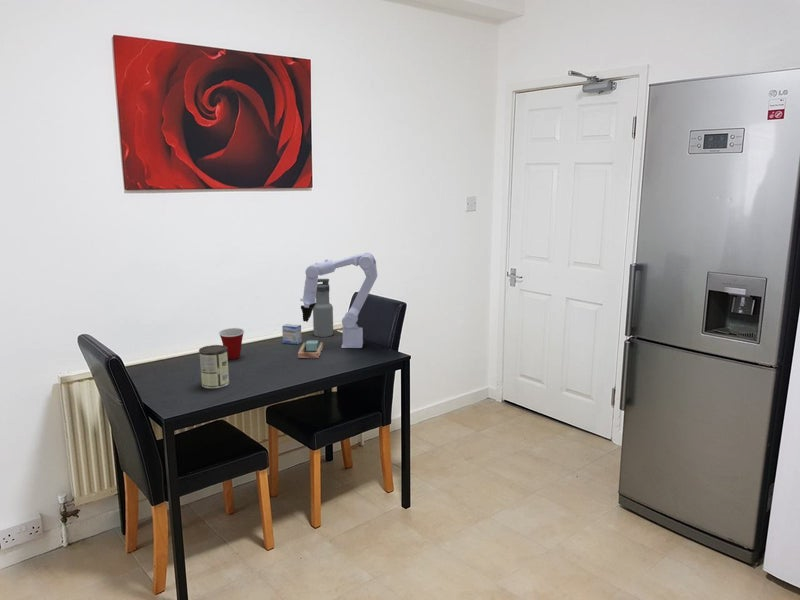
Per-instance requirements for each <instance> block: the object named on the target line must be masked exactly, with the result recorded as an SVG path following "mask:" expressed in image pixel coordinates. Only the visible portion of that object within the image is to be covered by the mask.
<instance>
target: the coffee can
mask: <svg viewBox="0 0 800 600" xmlns="http://www.w3.org/2000/svg"><path fill="white" fill-rule="evenodd" d="M198 352H199V362H200V365H199V367H200V376H201V386H202V387H203V388H205V389H220V388H224V387H226V386H228V385H230V375H229V374H230V373H229V359H228V355H227V347H226V346H223V344H213V345H206V346H203V347H201V348H199V349H198Z"/></svg>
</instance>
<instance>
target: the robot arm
mask: <svg viewBox="0 0 800 600" xmlns="http://www.w3.org/2000/svg"><path fill="white" fill-rule="evenodd" d="M351 265H353V266H356V267H358V266H359V267H360V269H361V270H362V271H363V272H364V276H365V278H364V281H363V283H362V285H361V287H360V289H359V290H358V292H357V295H356V297H355V299H354V300H353V302H352V305H351V307H350V308H349V310H348V311H347V312H346V313H345V314H344V316H343V318H342V319H341V323H342V344H341V347H340V348H341V349H361V348H363V344H364V339H363V334H364V333H363V327H360V326H359V325H358V324H357V322H358V320H359V315H360V312H361V309H362V307H363V306H364V304H365V301H366V300H367V298H368V296H369V294H370V292H371V291H372V288H373V286H374V284H375V282H376V281H377V278H378V270H377V261H376V259H375V257H374V255H373V254H372V253H370V252H365V253H363V254H362V253H359V254H354V255H351V256H348V257H344V258H342V259H339V260H336V261H335V260H334V261H333V260H332V259H324V261H322V262H315V263H314V264H310V265H309V266H307V268H306V269H305V281H304V287H303V288H304V289H303V297H302V298H299V300H300V301H301V302H302V303H303V305H300V309H301V313H302V321H303V322H307V323H308V322H309V320H310V318H311V316H312V314H313V308H314V306H315V304H316V292H317V284H319V282H318V279H319V276H325V275H328V274H332V273H334V272H335V271H336V269H339V268H343V267H347V266H351Z"/></svg>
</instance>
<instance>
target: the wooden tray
mask: <svg viewBox="0 0 800 600" xmlns="http://www.w3.org/2000/svg"><path fill="white" fill-rule="evenodd" d="M306 342H307V341H302V344H301V346H300V348H299V350H298V352H297V359H298V358H308V360H309V358H311V359H312V358H313V359H314V358H320V357H321V354H322V352H321V351H323V348H324V341H320V343H318V349H317V351H306V349H305V348H306ZM305 351H306V352H305ZM319 356H320V357H319ZM313 359H312V360H313ZM314 360H315V359H314Z"/></svg>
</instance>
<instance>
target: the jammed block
mask: <svg viewBox="0 0 800 600" xmlns="http://www.w3.org/2000/svg"><path fill="white" fill-rule="evenodd" d="M305 342H306V349H305V351H306V352H316V351H317V349H318V347H319V340H318V339H317V340H316V339H315V340H313V339H312V340H311V339H310V340H309V339H308V340H307V341H305Z"/></svg>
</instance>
